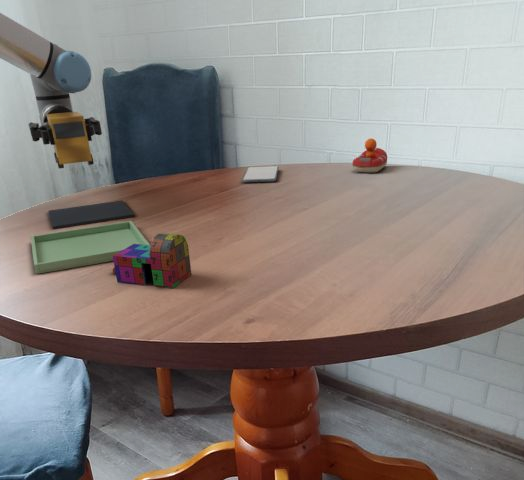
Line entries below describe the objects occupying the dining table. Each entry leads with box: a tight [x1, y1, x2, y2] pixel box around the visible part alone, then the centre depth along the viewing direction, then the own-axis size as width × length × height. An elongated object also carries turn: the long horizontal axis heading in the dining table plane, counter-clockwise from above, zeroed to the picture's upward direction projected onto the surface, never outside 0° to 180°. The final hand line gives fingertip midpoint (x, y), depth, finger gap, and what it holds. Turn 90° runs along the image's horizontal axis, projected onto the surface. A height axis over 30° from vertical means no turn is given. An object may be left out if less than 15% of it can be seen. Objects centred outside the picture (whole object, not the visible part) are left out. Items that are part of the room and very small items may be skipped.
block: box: [112, 232, 192, 289], centre depth 79 cm, size 12×8×7 cm
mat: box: [48, 200, 135, 230], centre depth 114 cm, size 16×14×1 cm
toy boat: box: [351, 138, 388, 174], centre depth 139 cm, size 8×12×8 cm, turn 155°
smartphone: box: [242, 165, 279, 183], centre depth 139 cm, size 8×1×15 cm
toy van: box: [46, 111, 95, 170], centre depth 106 cm, size 7×11×9 cm, turn 22°
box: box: [30, 220, 151, 275], centre depth 93 cm, size 18×17×2 cm
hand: (70, 135), depth 101 cm, fingers closed on toy van, 6 cm apart
